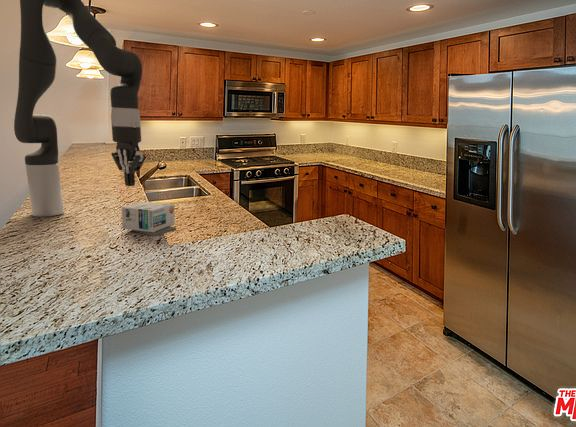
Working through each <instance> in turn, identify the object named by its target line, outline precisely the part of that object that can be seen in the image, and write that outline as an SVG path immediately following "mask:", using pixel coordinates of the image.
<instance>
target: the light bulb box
mask: <svg viewBox="0 0 576 427" xmlns="http://www.w3.org/2000/svg"><path fill="white" fill-rule="evenodd" d="M121 220H122V222H121V223H122V229H124V230H130V231H132V230H138V231H146V232H153V233H154V232H156V231H159V230H161V229H163V228H166V227H169V226H171V227H173V226H175V222H176V221H175V204H172V203H163V202H152V201H141V202H138V203H133V204H129V205H124V206H121Z"/></svg>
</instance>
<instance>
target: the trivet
mask: <svg viewBox="0 0 576 427" xmlns="http://www.w3.org/2000/svg"><path fill="white" fill-rule="evenodd" d="M131 231H132V232H136V233H139V234H142V235H147V236H151V237H157V236H161V235H163V234H164V235H165V234H168V233H172V232H176V231H177V227H174V226H169V227H166V228H163V229H161V230H159V231H156V232H154V233H153V232H146V231H138V230H131Z"/></svg>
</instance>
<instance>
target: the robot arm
mask: <svg viewBox="0 0 576 427" xmlns="http://www.w3.org/2000/svg"><path fill="white" fill-rule="evenodd" d="M19 7H20V8H19V10H20V43H19V58H18V92H17V100H16V106H15V112H14V119H13V120H14V121H13V122H14V123H13V131H14V135H15V137H16V140H17V141H18V142H20V143H23V144H41V146H40V147H39V149H38V150H36V151H34V152H31V153H29V154H26V155H25V156H24V164H25V172H26V179H27V185H28V193H29V199H30V208H31V216H33V217H40V218H41V217H43V218H44V217H53V216H60V215H62V214H64V213H65V209H64V201H63V191H62V182H61V175H60V166H59V146H58V145H59V143H58V142H59V141H58V129H57V125H56V124H57V123H56V121H55V119H54V118H53V117H52V116H51V115H47V114H38V113H37V114H36V113H35V114H34V111H35V107H36V104H38V101H39V99H40V98H41V97H42V96H43V95H44V94H45V93H46V92H47V90H48V89H49V88H50V87H51V86H52V84H53V83H54V81H55V79H56V76H57V75H56V74H57V73H56V72H57V63H58V62H57V61H58V60H57V59H58V58H57V53H56V51H55V48H54V46H53V44H52V42H51V40H50V38H49V36H48V34H47V32H46V29H45V27H44V26H45V25H44V21H43V20H44V19H43V18H44V17H43V10H44V7H47V8H51V9H58V10H60V11H61V12H63V13H65V15H67V16H68V17H69V18H70V19H71V22H72V27H73V30H74V32H75V34H76V35H77V37H78V38H79V40H80V41H82V42H83V44H84V45H85V46H86V47H87V48H88V49H89V50H90V51H91V52H92V53H93V55H94V57H95V58H96V61H97V62H98V64H99V65H100V66H101V68H103V71H106V72H107V73H108V74H110V75H112V76H117V77H120V81H119V85H114V86H112V87H111V88H110V93H109V95H110V108H111V109H110V110H111V112H110V114H111V115H110V120H111V121H110V122H111V136H112V137H111V138H112V141H113V142H114V143H116V146H115V149H116V150H115V151H114V152H111V157H112V159H113V161H114V163H115V164H116V167H117V169H118V171H122V173H123V174H124V175H123V176H124V186H126V187H134V186H135V185H136V180H135V179H136V178H135V177H136V176H135V173H137V172H140V170H141V168H142V166H143V164H144V162H145V161H146V155H145V154H142V153H141V152H140V147H139V143H142V128H141V116H140V110H139V97H138V94H139V90H140V86H141V81H142V76H143V65H142V61H141V59H140V57H139V55H137V54H136V53H135V52H133V51H129V50H126V49H123V48H119V47H117V41H116V39H115V37H114V36H113V35H112V34H111V32H110V31H108V29H107V28H106V27H104V26H103V24H102V23H100V22H99V21H98V20H97V19H96V17H94V15H93V14H92V13H91V11H90V10H89V9H88V8H87V6H86V5H85V3H84V2H83V1H82V0H19Z"/></svg>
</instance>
